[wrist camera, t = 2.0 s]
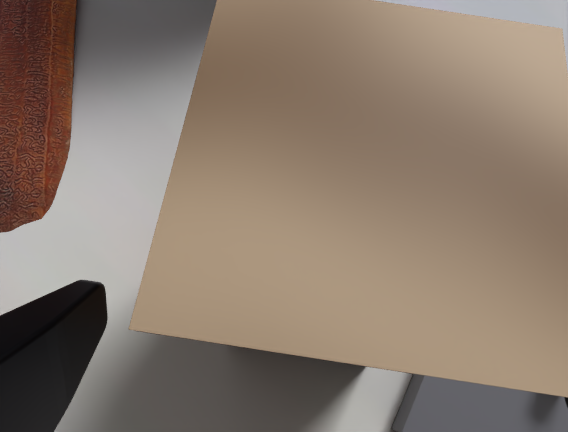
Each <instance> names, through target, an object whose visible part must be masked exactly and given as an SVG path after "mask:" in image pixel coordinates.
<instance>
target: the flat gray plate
mask: <svg viewBox="0 0 568 432" xmlns="http://www.w3.org/2000/svg"><path fill="white" fill-rule="evenodd" d="M392 429H394V430H395V431H397V432H568V408H567V405H566V402H565V398H564V397H560V396H554V395H547V394H541V393H535V392H528V391H522V390H515V389H509V388H502V387H496V386H489V385H483V384H476V383H470V382H463V381H457V380H450V379H444V378H437V377H431V376H425V375H418V374H414V375H413V377H412V379H411V382H410V384H409V387H408V389H407V392H406V394H405V397H404V399H403V401H402V404H401V406H400V409H399V411H398V414H397V416H396V419H395V421H394V424H393V426H392Z"/></svg>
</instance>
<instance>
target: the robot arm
mask: <svg viewBox="0 0 568 432" xmlns="http://www.w3.org/2000/svg"><path fill="white" fill-rule="evenodd" d="M106 324H107V304H106V292H105V287H104V285H103V284H102V283H100V282H95V281H88V280H78V281H76V282H74V283H71V284H69V285H67V286H65V287H63V288H60V289H58V290H56V291H54V292H51V293H49V294H47V295H45V296H43V297H40V298H38V299H36V300H34V301H32V302H29V303H27V304H25V305H23V306H21V307H18V308H16V309H14V310H12V311H9V312H7V313H5V314H3V315H1V316H0V432H54V430H55V428H56V427H57V425H58V423H59V422H60V420H61V418H62V417H63V415H64V413H65V411H66V410H67V408H68V406H69V404H70V402H71V400H72V398H73V396H74V394H75V392H76V390H77V388H78V386H79V384H80V381H81V379H82V377H83V375H84V373H85V371H86V369H87V367H88V364H89V362H90V360H91V358H92V356H93V354H94V352H95V350H96V348H97V345H98V343H99V341H100V339H101V337H102V335H103V333H104V330H105V328H106ZM564 398H565V402H566V405H567V408H568V398H567V397H564Z"/></svg>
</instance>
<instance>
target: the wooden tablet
mask: <svg viewBox="0 0 568 432" xmlns="http://www.w3.org/2000/svg"><path fill="white" fill-rule="evenodd" d="M76 4H77V0H0V233H1V232H9V231H12V230H13V229H15V228H17V227H19V226H21V225H24V224H27V223H30V222H33V221H36V220H39V219H42V217H43V216H44V215H45V214H46V212H47V211H48V210H49V208H50V207H51V205H52V203H53V200H54V198H55V195H56V191H57V188H58V185H59V182H60V180H61V177H62V174H63V171H64V168H65V164H66V161H67V158H68V152H69V147H70V138H71V113H72V87H73V76H74V73H73V69H74V37H75V21H76Z"/></svg>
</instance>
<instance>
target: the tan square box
mask: <svg viewBox="0 0 568 432" xmlns="http://www.w3.org/2000/svg"><path fill="white" fill-rule="evenodd" d="M129 330H135V331H141V332H146V333H153V334H159V335H166V336H172V337H179V338H185V339H192V340H198V341H205V342H211V343H218V344H224V345H231V346H237V347H243V348H250V349H256V350H263V351H269V352H276V353H282V354H289V355H295V356H302V357H308V358H315V359H321V360H328V361H334V362H340V363H347V364H353V365H360V366H366V367H373V368H379V369H386V370H392V371H399V372H405V373H412V374H418V375H425V376H431V377H437V378H444V379H450V380H457V381H463V382H470V383H476V384H483V385H489V386H496V387H502V388H509V389H515V390H522V391H528V392H535V393H541V394H547V395H554V396H560V397H567V398H568V73H567V64H566V56H565V48H564V39H563V31H562V29H561V28H554V27H548V26H541V25H534V24H528V23H521V22H514V21H508V20H501V19H494V18H488V17H481V16H474V15H467V14H461V13H454V12H447V11H441V10H434V9H427V8H421V7H414V6H407V5H401V4H394V3H387V2H381V1H374V0H217V2H216V6H215V9H214V13H213V17H212V21H211V24H210V28H209V32H208V36H207V39H206V43H205V47H204V50H203V54H202V58H201V62H200V65H199V69H198V73H197V76H196V80H195V84H194V88H193V91H192V95H191V99H190V102H189V106H188V110H187V114H186V117H185V121H184V125H183V129H182V132H181V136H180V140H179V143H178V147H177V151H176V155H175V158H174V162H173V166H172V169H171V173H170V177H169V181H168V184H167V188H166V192H165V196H164V199H163V203H162V207H161V210H160V214H159V218H158V222H157V225H156V229H155V233H154V236H153V240H152V244H151V248H150V251H149V255H148V259H147V262H146V266H145V270H144V274H143V277H142V281H141V285H140V289H139V292H138V296H137V300H136V303H135V307H134V311H133V315H132V318H131V322H130V326H129Z"/></svg>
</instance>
